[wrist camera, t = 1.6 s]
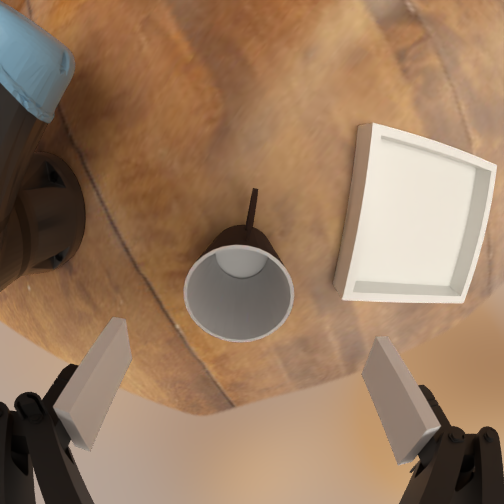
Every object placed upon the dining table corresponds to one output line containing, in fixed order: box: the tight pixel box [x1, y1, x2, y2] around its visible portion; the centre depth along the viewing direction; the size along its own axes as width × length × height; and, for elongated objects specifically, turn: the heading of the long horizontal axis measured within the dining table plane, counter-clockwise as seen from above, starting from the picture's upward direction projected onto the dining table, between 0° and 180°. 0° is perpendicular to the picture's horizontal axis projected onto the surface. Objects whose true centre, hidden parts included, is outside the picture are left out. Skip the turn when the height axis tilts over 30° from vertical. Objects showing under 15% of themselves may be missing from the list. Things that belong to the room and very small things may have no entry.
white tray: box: [333, 123, 497, 303], centre depth 29 cm, size 18×18×4 cm
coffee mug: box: [184, 188, 294, 342], centre depth 27 cm, size 12×9×10 cm
